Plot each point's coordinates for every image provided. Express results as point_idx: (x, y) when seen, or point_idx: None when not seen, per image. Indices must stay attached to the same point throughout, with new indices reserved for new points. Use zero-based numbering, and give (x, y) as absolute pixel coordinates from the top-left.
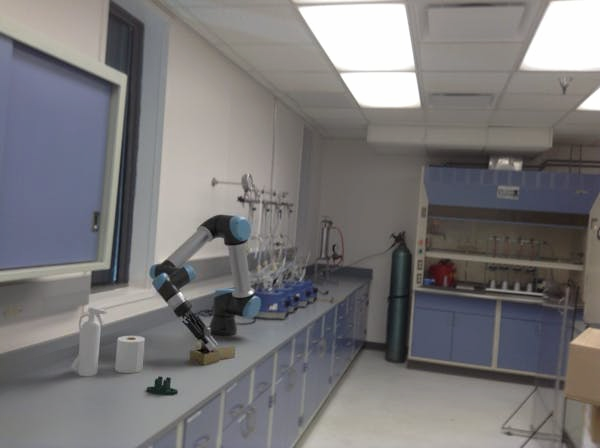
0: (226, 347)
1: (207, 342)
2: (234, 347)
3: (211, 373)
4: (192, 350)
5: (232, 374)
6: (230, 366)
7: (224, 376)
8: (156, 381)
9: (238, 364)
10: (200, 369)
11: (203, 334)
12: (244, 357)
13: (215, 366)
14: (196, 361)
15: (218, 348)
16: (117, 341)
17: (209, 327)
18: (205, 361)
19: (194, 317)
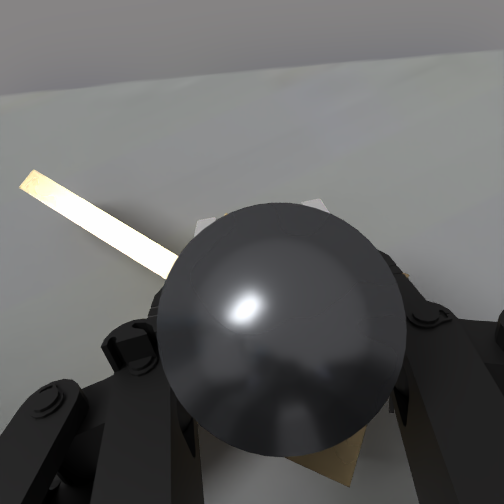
0: (78, 222)
1: (381, 253)
2: (42, 175)
3: (497, 169)
4: (351, 453)
5: (425, 70)
6: (288, 141)
7: (492, 87)
8: None
9: (222, 122)
10: (474, 265)
11: (436, 313)
12: (62, 154)
13: (346, 214)
14: None
15: (142, 263)
16: None
17: (223, 263)
18: None
19: None
